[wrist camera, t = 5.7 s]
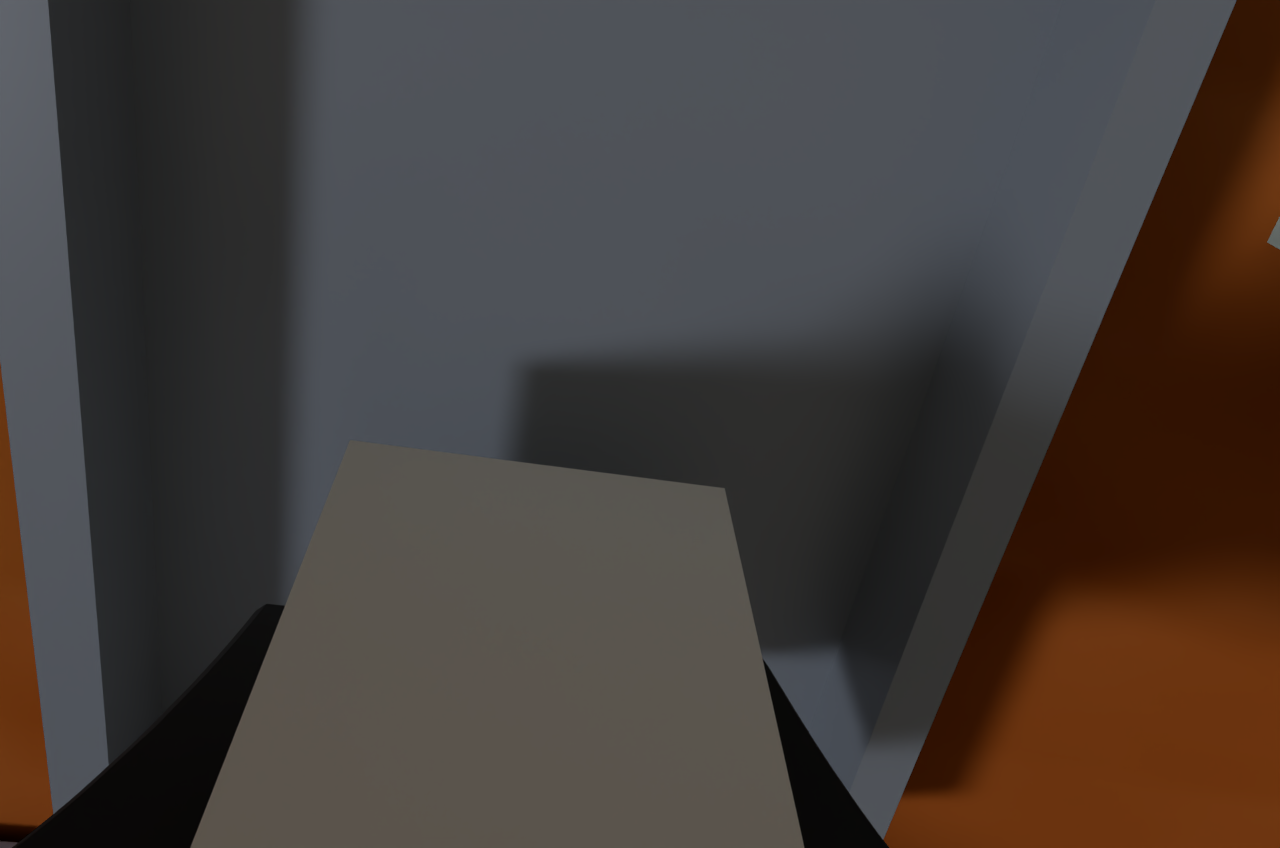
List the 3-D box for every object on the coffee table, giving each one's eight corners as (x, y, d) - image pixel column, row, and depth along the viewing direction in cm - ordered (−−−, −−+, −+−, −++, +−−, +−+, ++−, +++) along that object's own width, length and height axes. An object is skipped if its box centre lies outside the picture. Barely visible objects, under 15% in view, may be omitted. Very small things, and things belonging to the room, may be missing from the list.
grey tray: (802, 802, 20) (837, 949, 17) (137, 742, 18) (62, 893, 16) (1180, -249, 12) (1354, -278, 9) (60, -515, 10) (-118, -640, 8)
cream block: (656, 753, 15) (696, 1244, 10) (333, 722, 14) (190, 1228, 9) (725, 488, 13) (822, 932, 8) (349, 440, 12) (175, 885, 7)
